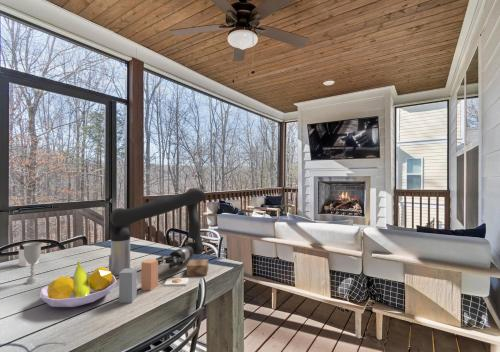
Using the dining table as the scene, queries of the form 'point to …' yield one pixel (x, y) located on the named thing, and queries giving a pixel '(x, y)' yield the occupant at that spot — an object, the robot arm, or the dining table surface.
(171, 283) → the card
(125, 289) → the grey block
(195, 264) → the walnut plinth
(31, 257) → the chalice
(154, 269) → the terracotta block
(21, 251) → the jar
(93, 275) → the fruit bowl
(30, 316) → the dining table surface
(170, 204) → the robot arm
